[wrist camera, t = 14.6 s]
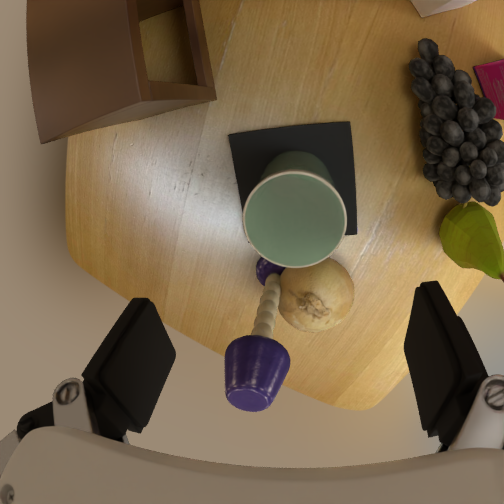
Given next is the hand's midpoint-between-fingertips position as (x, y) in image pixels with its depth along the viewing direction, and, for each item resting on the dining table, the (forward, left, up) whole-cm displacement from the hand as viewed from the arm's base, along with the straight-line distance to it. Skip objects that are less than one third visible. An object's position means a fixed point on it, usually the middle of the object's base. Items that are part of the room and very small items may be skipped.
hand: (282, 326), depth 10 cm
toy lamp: (+9, -3, -19) cm, 22 cm away
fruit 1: (-6, +15, -20) cm, 25 cm away
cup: (0, 0, -19) cm, 19 cm away
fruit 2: (+5, +17, -20) cm, 27 cm away
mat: (0, 0, -20) cm, 20 cm away
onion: (+11, +1, -20) cm, 23 cm away
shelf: (-15, -10, -20) cm, 26 cm away
